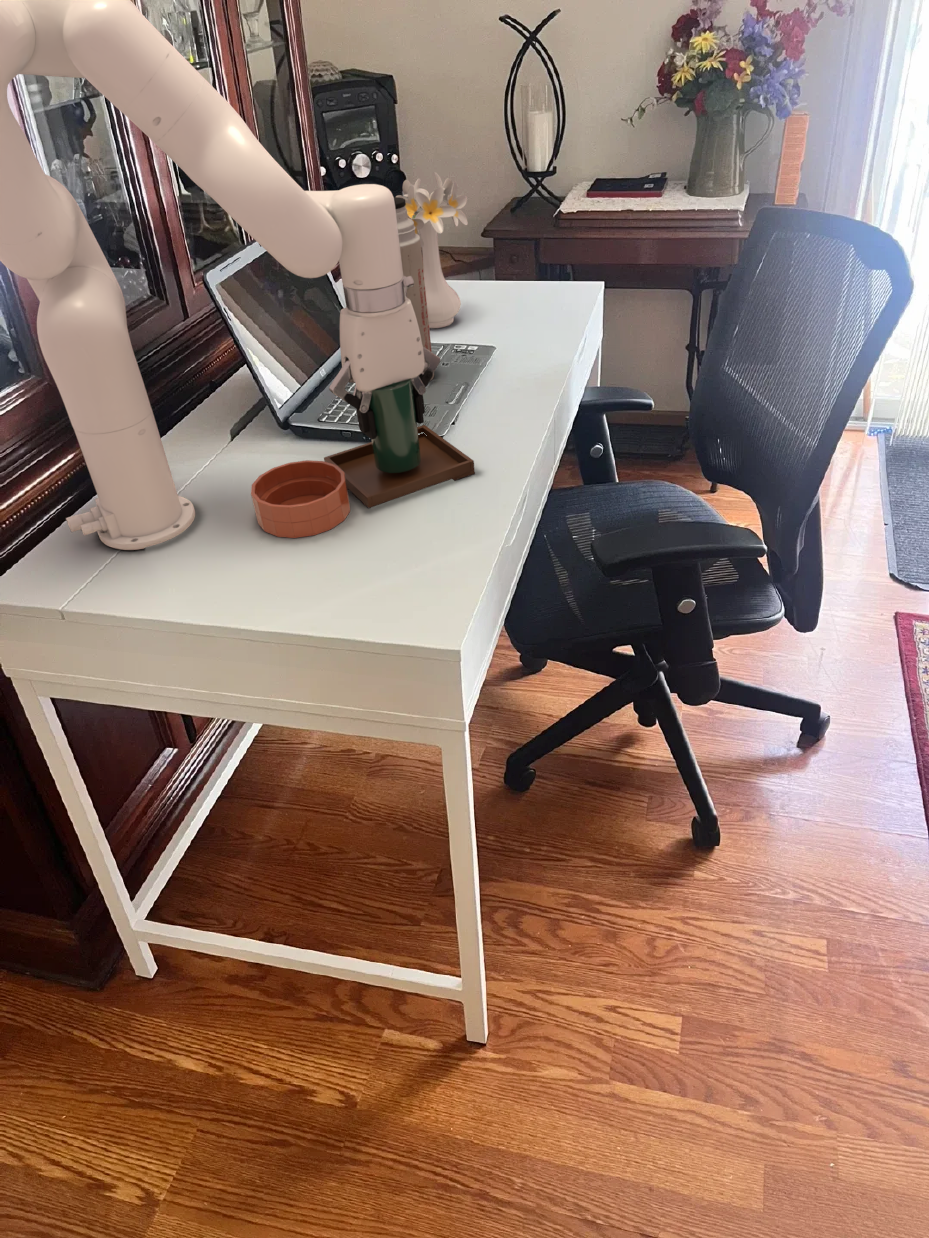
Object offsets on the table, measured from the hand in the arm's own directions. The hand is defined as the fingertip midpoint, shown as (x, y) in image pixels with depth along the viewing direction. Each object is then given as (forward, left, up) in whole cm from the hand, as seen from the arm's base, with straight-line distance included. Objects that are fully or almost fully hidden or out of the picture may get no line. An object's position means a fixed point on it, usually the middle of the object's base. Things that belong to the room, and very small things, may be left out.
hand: (393, 426), depth 127 cm
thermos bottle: (+16, +28, -7) cm, 33 cm away
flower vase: (+32, +47, -7) cm, 58 cm away
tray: (0, 0, -7) cm, 7 cm away
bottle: (0, 0, -5) cm, 5 cm away
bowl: (-16, -3, -7) cm, 17 cm away
